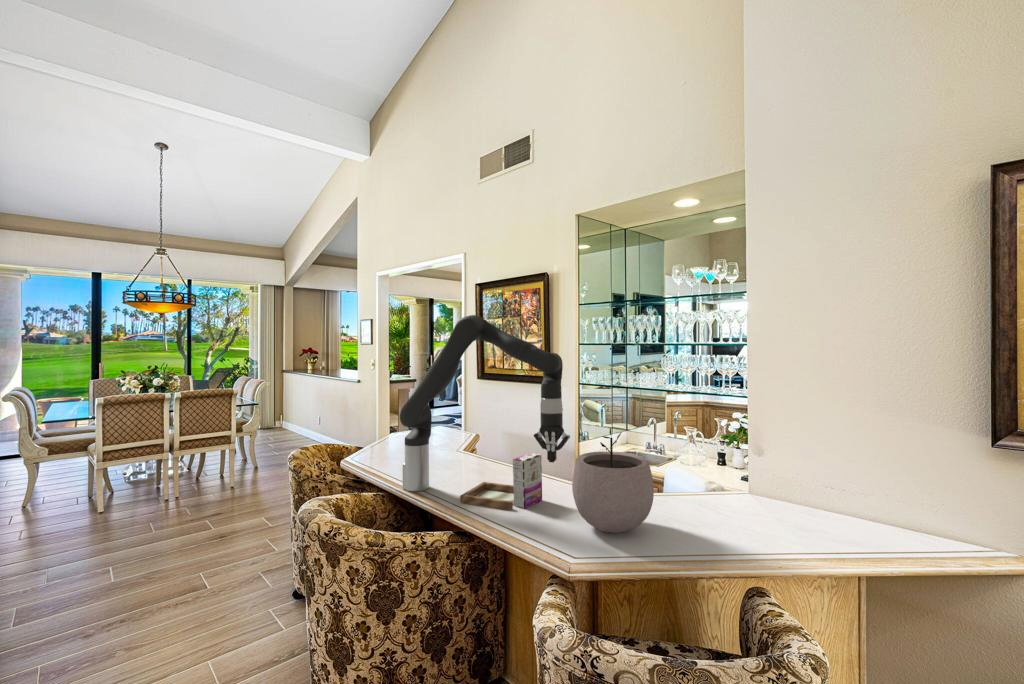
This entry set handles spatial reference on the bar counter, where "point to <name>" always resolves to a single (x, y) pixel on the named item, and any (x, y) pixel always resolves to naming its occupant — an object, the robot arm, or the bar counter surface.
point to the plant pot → (613, 489)
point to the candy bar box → (527, 480)
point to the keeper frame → (490, 496)
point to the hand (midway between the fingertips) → (552, 461)
